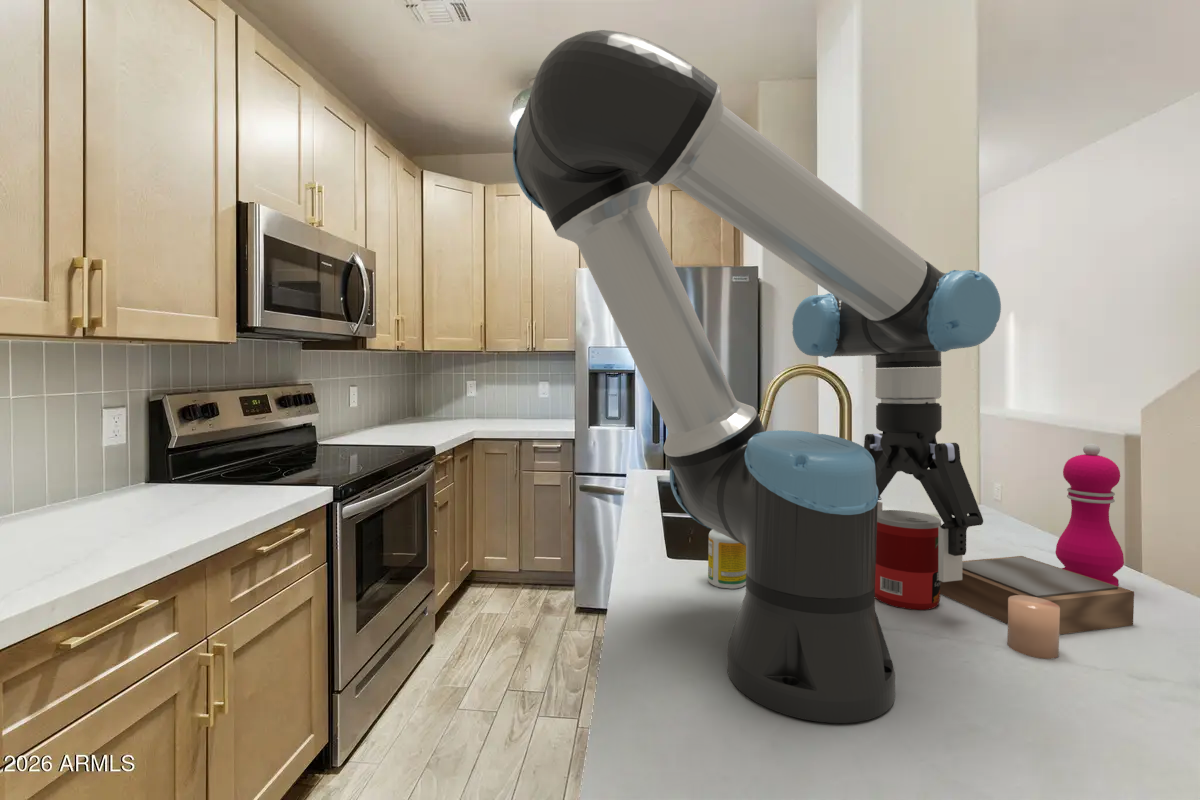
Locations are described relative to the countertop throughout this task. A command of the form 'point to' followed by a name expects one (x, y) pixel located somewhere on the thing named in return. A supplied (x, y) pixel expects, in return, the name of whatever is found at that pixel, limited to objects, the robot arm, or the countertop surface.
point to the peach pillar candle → (1033, 626)
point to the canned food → (907, 559)
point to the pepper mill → (1090, 518)
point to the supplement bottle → (726, 561)
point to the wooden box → (1041, 592)
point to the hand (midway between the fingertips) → (908, 562)
